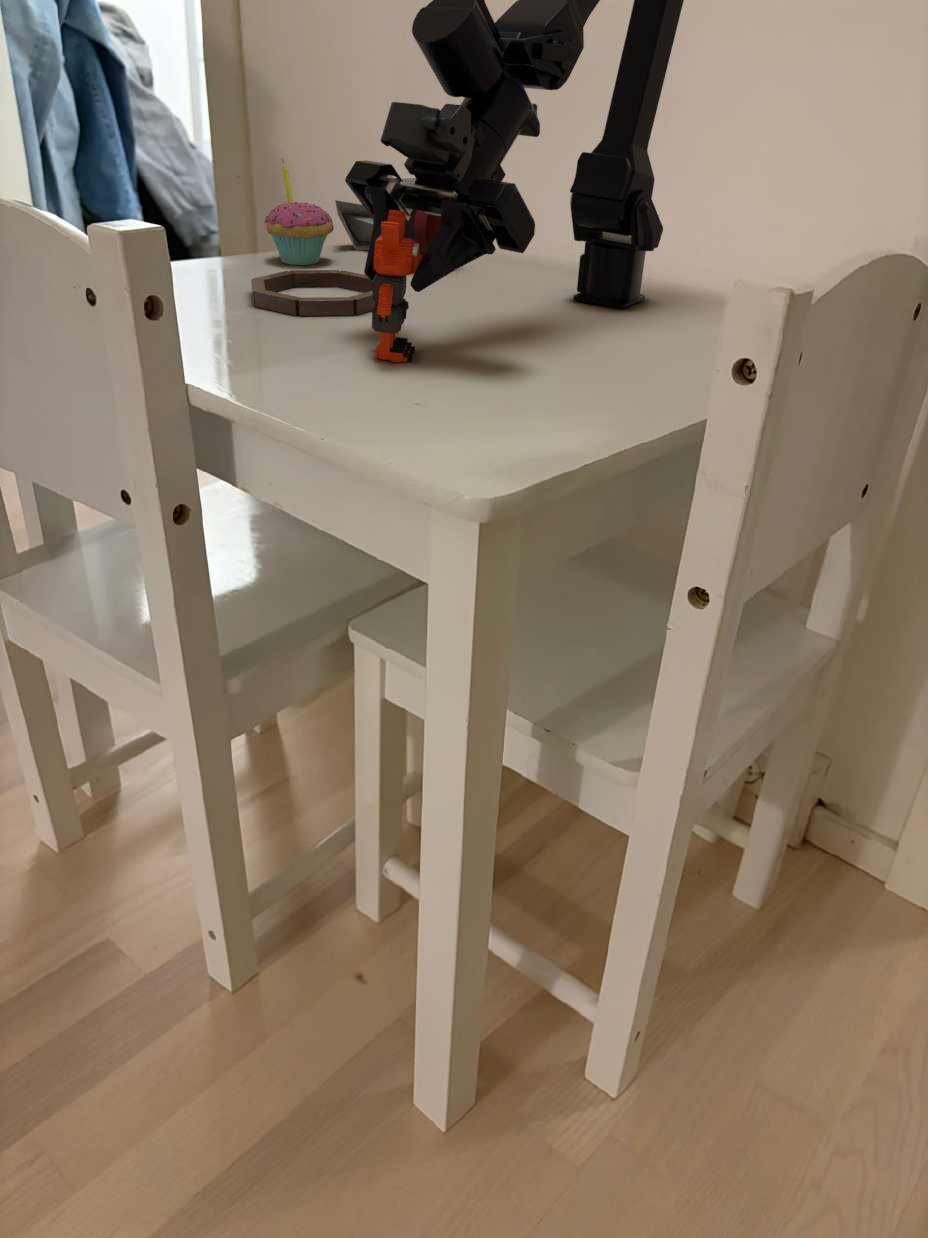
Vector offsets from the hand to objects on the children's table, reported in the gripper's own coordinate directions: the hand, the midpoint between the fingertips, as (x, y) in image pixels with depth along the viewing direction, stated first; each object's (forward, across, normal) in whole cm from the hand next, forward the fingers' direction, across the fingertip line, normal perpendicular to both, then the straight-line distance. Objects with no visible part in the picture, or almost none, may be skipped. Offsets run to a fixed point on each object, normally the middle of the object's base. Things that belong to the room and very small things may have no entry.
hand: (390, 282), depth 84 cm
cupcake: (-11, -38, +21) cm, 45 cm away
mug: (-18, -26, +28) cm, 42 cm away
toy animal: (+4, 0, +6) cm, 7 cm away
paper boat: (-19, -39, +29) cm, 52 cm away
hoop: (-3, -21, +12) cm, 25 cm away
